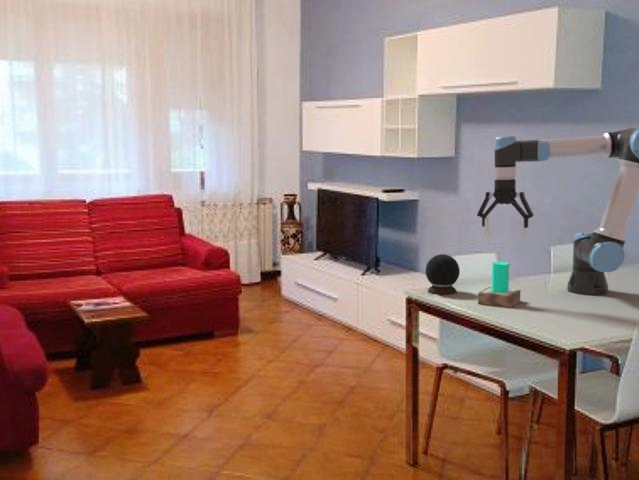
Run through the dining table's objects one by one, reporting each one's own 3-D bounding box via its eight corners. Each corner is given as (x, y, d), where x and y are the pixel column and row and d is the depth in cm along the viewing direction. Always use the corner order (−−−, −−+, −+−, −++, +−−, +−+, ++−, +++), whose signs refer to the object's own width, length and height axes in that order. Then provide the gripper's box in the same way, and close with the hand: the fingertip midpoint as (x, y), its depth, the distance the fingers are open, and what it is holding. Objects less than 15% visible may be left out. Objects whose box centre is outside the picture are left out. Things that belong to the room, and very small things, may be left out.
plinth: (520, 300, 266) (520, 289, 265) (510, 307, 256) (511, 295, 255) (488, 297, 272) (488, 286, 271) (478, 303, 262) (478, 292, 261)
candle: (507, 289, 266) (507, 257, 264) (509, 292, 260) (510, 260, 258) (490, 289, 266) (491, 257, 265) (492, 292, 260) (493, 260, 259)
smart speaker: (436, 296, 274) (436, 258, 272) (419, 290, 286) (419, 253, 284) (465, 293, 279) (466, 255, 277) (447, 287, 291) (448, 251, 289)
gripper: (542, 177, 260) (541, 235, 263) (474, 178, 272) (474, 233, 275) (537, 179, 254) (537, 238, 257) (468, 179, 266) (468, 236, 269)
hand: (504, 236), depth 266 cm, fingers open, 13 cm apart
